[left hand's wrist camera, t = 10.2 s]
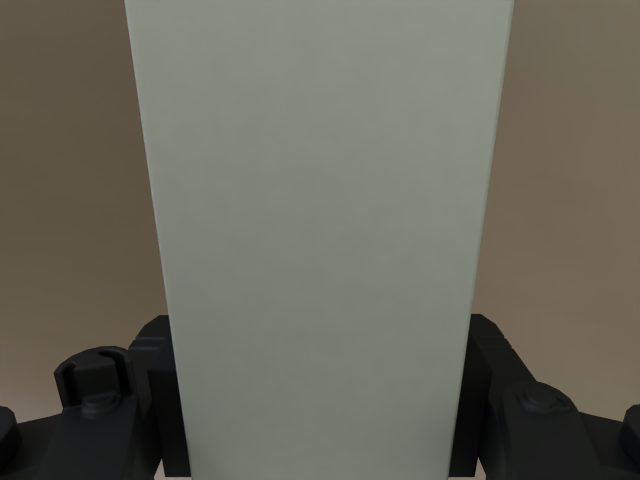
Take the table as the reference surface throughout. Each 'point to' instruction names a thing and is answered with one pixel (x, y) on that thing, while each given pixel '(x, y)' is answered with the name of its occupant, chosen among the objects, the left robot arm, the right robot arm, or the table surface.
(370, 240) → the beam
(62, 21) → the table surface
